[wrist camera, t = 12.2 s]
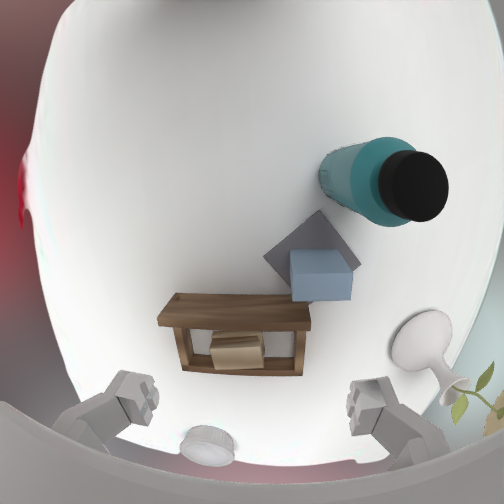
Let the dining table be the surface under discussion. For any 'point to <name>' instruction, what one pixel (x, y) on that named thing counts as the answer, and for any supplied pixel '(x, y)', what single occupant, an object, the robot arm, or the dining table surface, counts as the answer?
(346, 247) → the mat
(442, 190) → the beverage bottle
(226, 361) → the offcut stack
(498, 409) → the flower in vase
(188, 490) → the robot arm
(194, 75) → the dining table surface
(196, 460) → the ramekin
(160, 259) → the dining table surface
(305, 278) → the light blue block
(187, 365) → the brown wooden drawer
